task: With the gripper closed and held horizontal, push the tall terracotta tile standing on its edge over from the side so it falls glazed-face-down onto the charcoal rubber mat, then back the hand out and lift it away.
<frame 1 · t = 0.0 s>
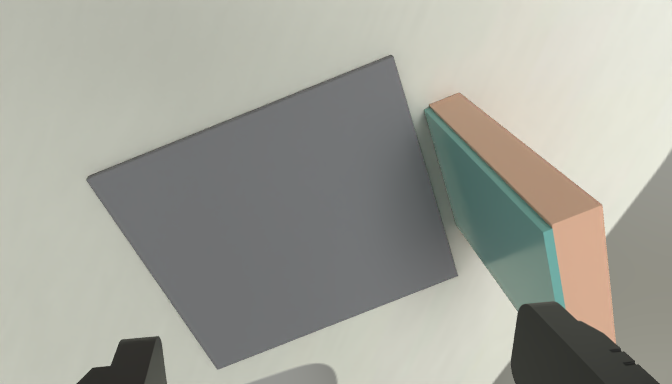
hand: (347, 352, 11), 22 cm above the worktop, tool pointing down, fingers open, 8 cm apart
mat: (293, 229, 36), on the worktop
tile: (457, 164, 36), on the worktop
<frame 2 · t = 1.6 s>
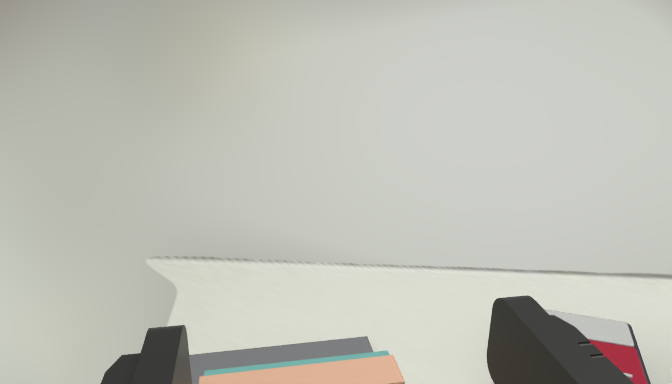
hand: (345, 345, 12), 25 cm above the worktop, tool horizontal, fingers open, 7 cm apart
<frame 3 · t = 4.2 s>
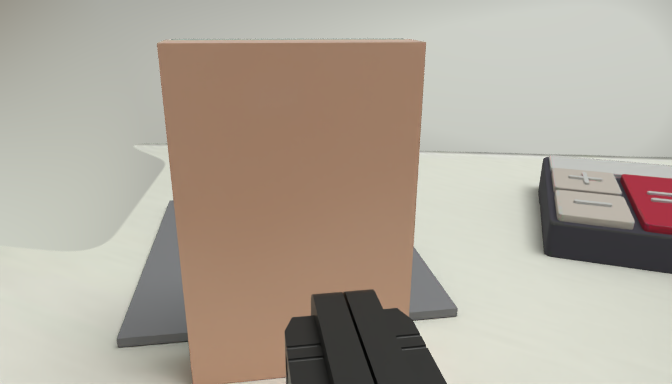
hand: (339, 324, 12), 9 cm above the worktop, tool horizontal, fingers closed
mat: (282, 249, 37), on the worktop
calculator: (612, 233, 41), on the worktop
tile: (300, 358, 25), on the worktop
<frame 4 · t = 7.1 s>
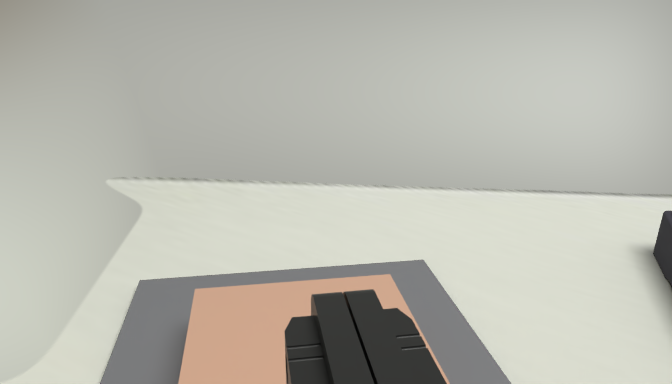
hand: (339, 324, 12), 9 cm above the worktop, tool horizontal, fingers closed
mat: (304, 381, 24), on the worktop
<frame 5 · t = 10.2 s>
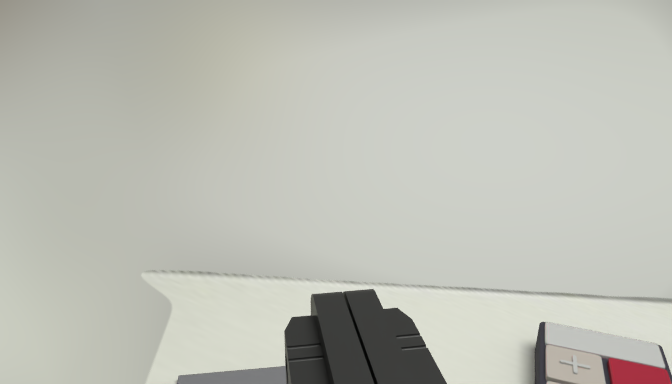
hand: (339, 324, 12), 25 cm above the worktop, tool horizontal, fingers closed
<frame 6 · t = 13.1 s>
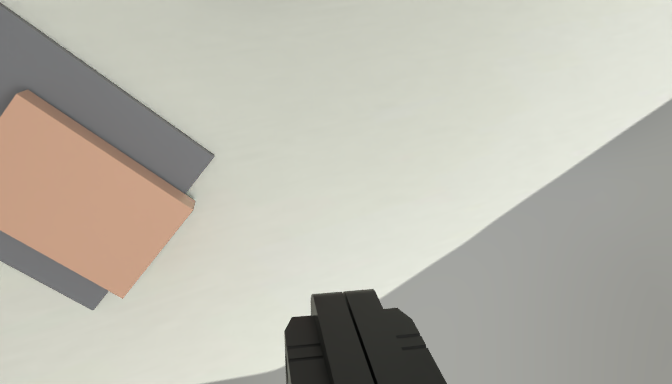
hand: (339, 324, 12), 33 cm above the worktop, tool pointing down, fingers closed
mat: (45, 167, 42), on the worktop
tile: (159, 248, 44), point 2 cm above the worktop, tilted 90°, touching mat
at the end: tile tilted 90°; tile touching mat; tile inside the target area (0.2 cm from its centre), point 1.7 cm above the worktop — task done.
